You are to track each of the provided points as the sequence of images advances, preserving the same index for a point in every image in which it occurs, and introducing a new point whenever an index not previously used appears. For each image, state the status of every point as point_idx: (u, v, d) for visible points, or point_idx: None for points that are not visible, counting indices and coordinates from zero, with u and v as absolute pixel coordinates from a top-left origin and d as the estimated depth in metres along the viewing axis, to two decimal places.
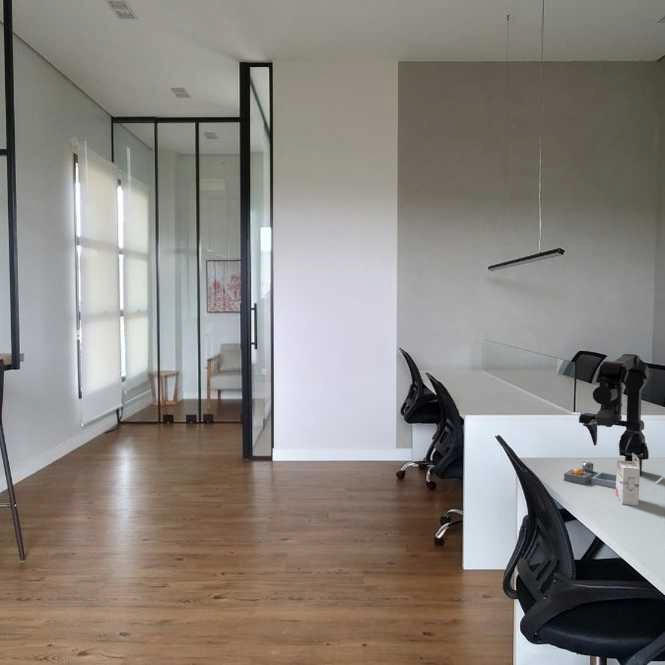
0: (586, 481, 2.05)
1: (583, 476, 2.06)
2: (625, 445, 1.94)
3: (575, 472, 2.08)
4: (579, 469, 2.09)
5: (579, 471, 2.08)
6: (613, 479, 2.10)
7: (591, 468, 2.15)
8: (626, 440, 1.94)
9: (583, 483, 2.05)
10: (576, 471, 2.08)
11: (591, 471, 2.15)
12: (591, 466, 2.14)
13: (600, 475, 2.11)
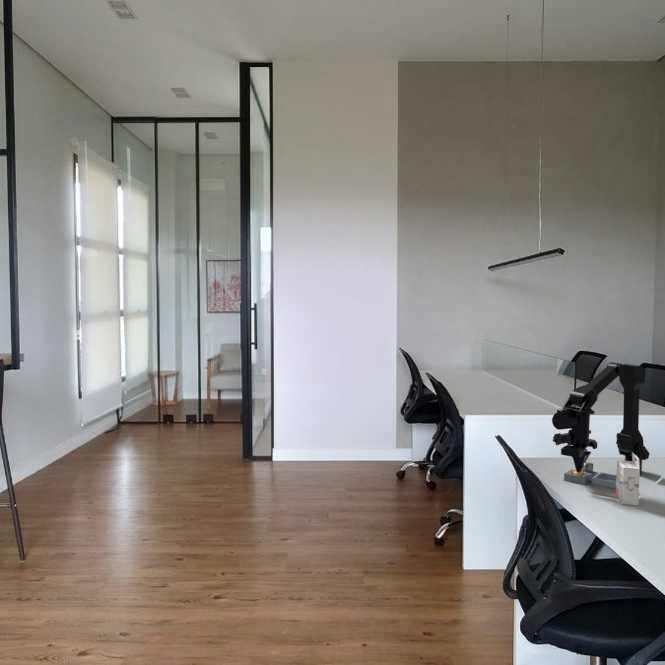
0: (586, 481, 2.05)
1: (583, 476, 2.06)
2: None
3: None
4: (579, 472, 2.09)
5: (579, 474, 2.08)
6: (613, 479, 2.10)
7: (591, 468, 2.15)
8: None
9: (583, 483, 2.05)
10: (576, 474, 2.08)
11: (591, 471, 2.15)
12: (591, 466, 2.14)
13: (600, 475, 2.11)
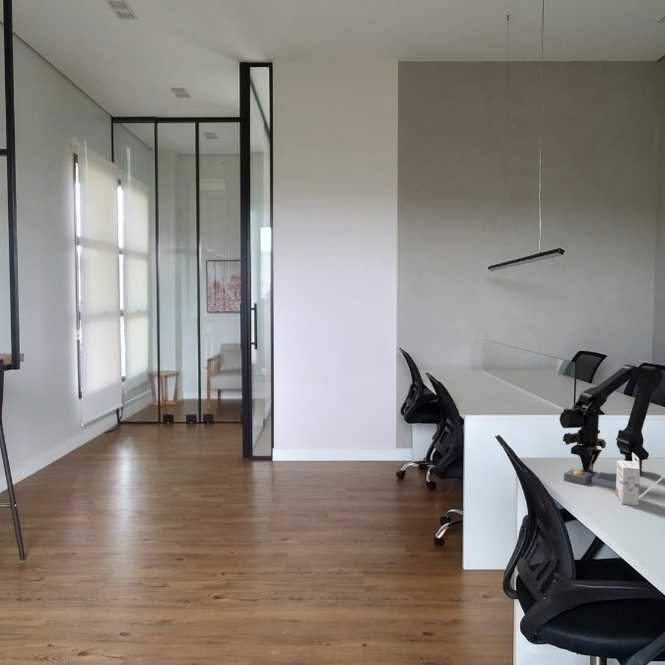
0: (586, 481, 2.05)
1: (583, 476, 2.06)
2: None
3: None
4: (579, 472, 2.09)
5: (579, 474, 2.08)
6: (613, 479, 2.10)
7: (591, 468, 2.15)
8: None
9: (583, 483, 2.05)
10: (576, 474, 2.08)
11: (591, 471, 2.15)
12: (591, 466, 2.14)
13: (600, 475, 2.11)
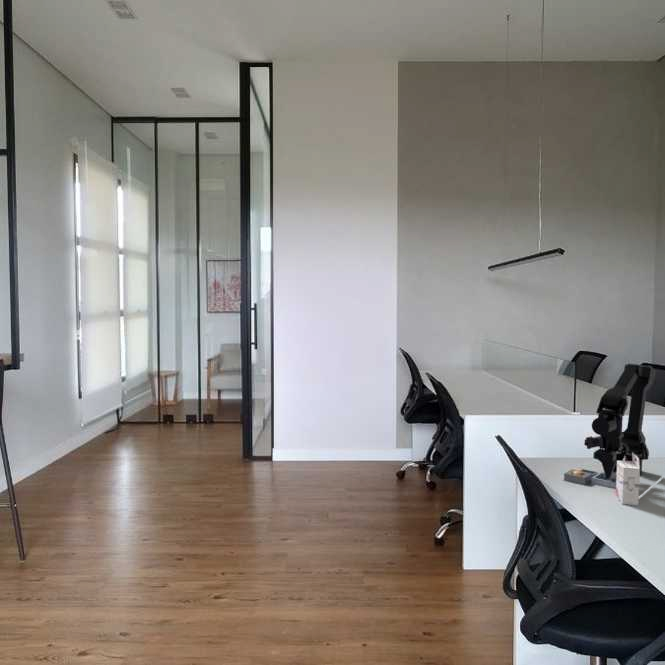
0: (586, 481, 2.05)
1: (583, 476, 2.06)
2: None
3: None
4: (579, 472, 2.09)
5: (579, 474, 2.08)
6: None
7: (614, 477, 2.05)
8: None
9: (583, 483, 2.05)
10: (576, 474, 2.08)
11: (614, 480, 2.05)
12: (614, 474, 2.05)
13: (600, 475, 2.11)
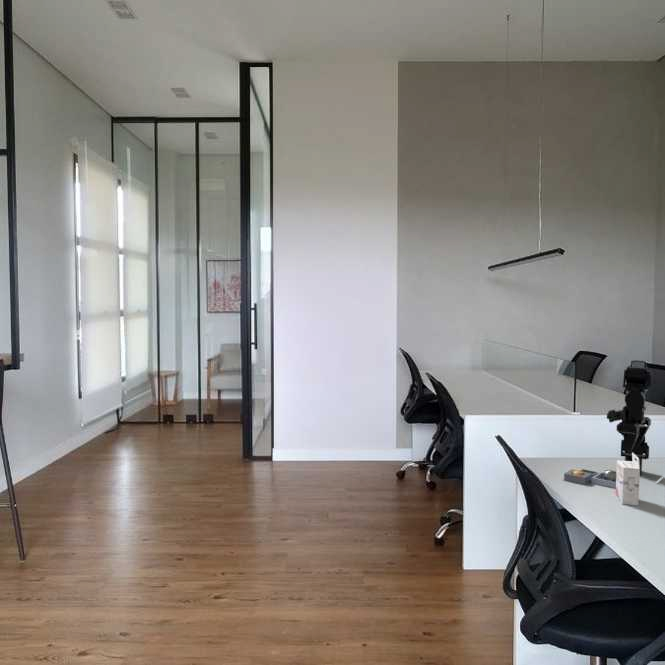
0: (586, 481, 2.05)
1: (583, 476, 2.06)
2: None
3: None
4: (579, 472, 2.09)
5: (579, 474, 2.08)
6: None
7: (614, 477, 2.05)
8: None
9: (583, 483, 2.05)
10: (576, 474, 2.08)
11: (614, 480, 2.05)
12: (614, 474, 2.05)
13: (600, 475, 2.11)
